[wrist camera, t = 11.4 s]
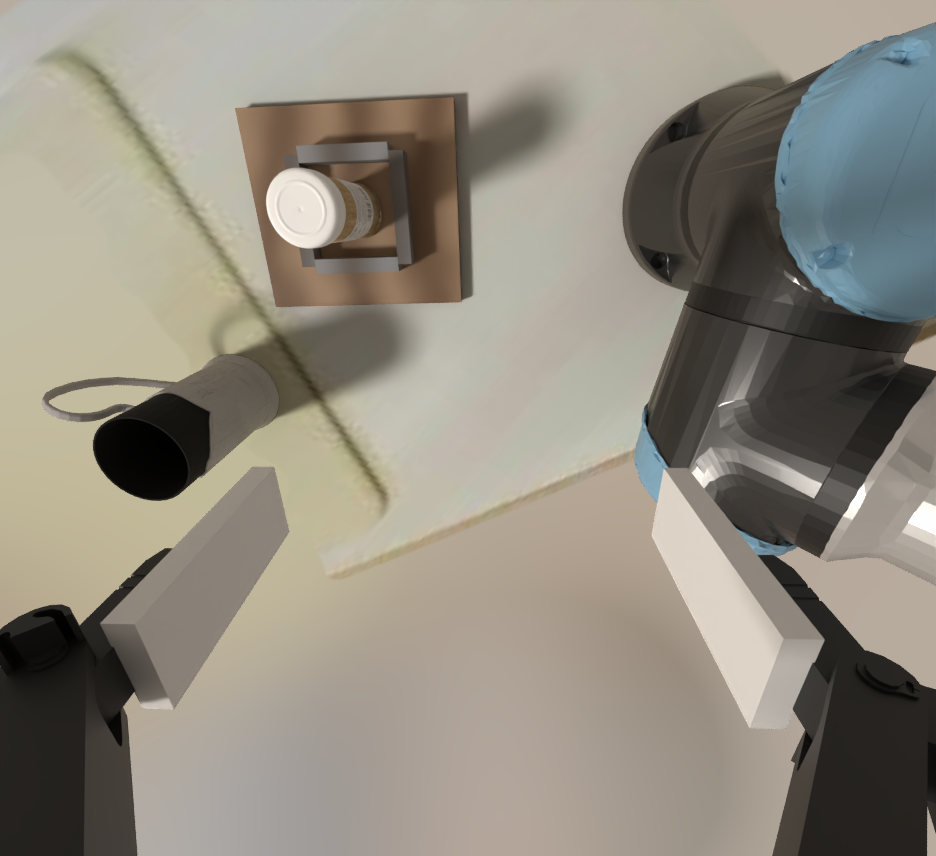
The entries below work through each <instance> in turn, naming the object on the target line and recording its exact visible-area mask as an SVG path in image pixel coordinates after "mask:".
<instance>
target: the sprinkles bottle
mask: <svg viewBox="0 0 936 856" xmlns="http://www.w3.org/2000/svg"><path fill="white" fill-rule="evenodd" d="M266 206H267V212H268V216H269V219H270V221H271V223H272V225H273V227H274V228H275V230H276V231H277V232H278V234H279V235H280V236H281V237H282V238H283V239H285V240H286V241H287V242H289V243H291V244H292V245H295V246H297V247H301V248H319V247H324V246H327V245H329V244H330V243H336V242H343V241H350V240H356V239H366V238H369V237H370V236H372V235H374V233H375V232H376V231H377V230H378V228H379V227H380V224H381V221H382V208H381V203H380V201H379V199H378V197H377V196H376V194H375V193H374V192H373V191H372V190H371V189H370V188H369V187H367V186H365V185H363V184H360V183H351V182H347V181H344V180H340V179H336V178H332V177H327V176H325V175H324V174H322V173H320V172H318V171H315V170H311V169H306V168H289V169H286V170H284V171H282V172H280V173H279V174H278V175H277V176H276V177H275V178H274V179H273V180H272V182H271V184H270V186H269V188H268V191H267V196H266Z"/></svg>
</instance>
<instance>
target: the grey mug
mask: <svg viewBox="0 0 936 856" xmlns="http://www.w3.org/2000/svg"><path fill="white" fill-rule="evenodd" d="M107 385H132V386H147V387H156V388H165V389H163V390H161V391H159V392H157V393H155V394H153V395H152V396H150V397H149V398H148V399H146V400H145V401H144V402H143V403H141V404H139V405H137V406H132V405H127V404H118V405H114V406H111V407H109V408H107V409H104V410H102V411H98V412H93V413H70V412H66V411H61V410H59V409H57V408H55V407H53V406H52V405H51V404H49V400H51V399H53V398H55V397H56V396H58V395H61V394H64V393H67V392H70V391H73V390H78V389H83V388H88V387H96V386H107ZM42 405H43V407H44V410H45V411H46V412H48V413H49V414H50V415H52V416H54V417H56V418H59V419H62V420H67V421H75V422H89V421H95V420H100V419H103V418H106V417H108V416H110V415H112V414H115V413H117V412H124V413H122V414H120V415H118V416H116V417H114V418H112V419H110V420H108V421H107V422H105V423H104V424H103V425H101V426H100V427H99V429H98V430H97V432H96V434H95V436H94V440H93V451H94V455H95V458H96V461H97V463H98V465H99V467H100V468H101V470H102V471H103V473H104V474H105V475H106V477H107V478H108V479H110V481H111V482H112V483H114V484H115V485H116V486H118V487H119V488H120V489H122V490H124V491H125V492H127V493H129V494H131V495H133V496H135V497H139V498H142V499H146V500H154V501H161V500H168V499H171V498H174V497H175V496H177V495H179V494H180V493H181V492H182V491H184V490H185V489H186V488H187V487H188V486H189V485H190V484H192V483H193V482H194V481H195V480H196V479H197V478H202V477H203V476H204V475H205V474H206V473H207V472H208V471H209V470H211V469H212V468H213V467H214V466H215V465H216V464H217V463H218V462H220V460H222V459H223V458H224V457H225V456H226V455H227V454H229V453H230V452H231V451H232V450H233V449H234V448H235V447H236V446H238V445H239V444H240V443H241V442H242V441H243V440H244V439H246V438H247V437H248V436H249V435H250V434H251V433H252V432H253V431H255V430H257V429H260V428H263V427H264V426H266V425H268V424H269V423H270V422H271V421H272V420H273V419H274V417H275V416H276V414H277V412H278V408H279V394H278V390H277V387H276V385H275V383H274V381H273V379H272V378H271V376H270V375H269V374H268V372H267V371H266V370H265V369H264V368H263V367H261V366H260V365H259V364H257V363H256V362H254V361H252V360H250V359H248V358H245V357H243V356H238V355H221V356H218V357H215V358H213V359H212V360H210V361H209V362H208V363H207V364H206V365H205V366H204V367H203V369H202V370H200V371H198V372H196V373H194V374H192V375H190V376H188V377H186V378H185V379H183V380H181V381H179V382H167V381H157V380H148V379H136V378H122V377H113V378H98V379H88V380H83V381H78V382H72V383H69V384H66V385H63V386H60V387H56V388H54V389H52V390H50V391H49V392H47V393H46V394H45V396H44V397H43V399H42Z"/></svg>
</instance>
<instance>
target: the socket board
mask: <svg viewBox="0 0 936 856" xmlns="http://www.w3.org/2000/svg"><path fill="white" fill-rule="evenodd" d="M235 110H236V115H237V120H238V124H239V129H240V134H241V139H242V144H243V149H244V153H245V158H246V163H247V168H248V173H249V178H250V182H251V187H252V192H253V197H254V202H255V207H256V211H257V216H258V221H259V226H260V231H261V236H262V240H263V245H264V250H265V255H266V260H267V265H268V269H269V274H270V279H271V284H272V289H273V294H274V298H275V303H276V307H292V306H331V305H370V304H409V303H448V302H461V301H462V295H461V268H460V241H459V214H458V187H457V160H456V133H455V106H454V98H453V97H446V98H427V99H407V100H387V101H367V102H348V103H328V104H308V105H288V106H268V107H249V108H235ZM289 168H306V169H311V170H315V171H318V172H320V173H322V174H324V175H325V176H327V177H332V178H336V179H340V180H344V181H347V182H351V183H360V184H363V185H365V186H367V187H369V188H370V189H371V190H372V191H373V192H374V193H375V194H376V196H377V197H378V199H379V201H380V203H381V208H382V221H381V224H380V227H379V228H378V230H377V231H376V232H375V233H374V235H372V236H370V237H369V238H366V239H356V240H350V241H343V242H336V243H330V244H329V245H327V246H324V247H319V248H301V247H297V246H295V245H292V244H291V243H289V242H287V241H286V240H285V239H283V238H282V237H281V236H280V235H279V234H278V232H277V231H276V230H275V228H274V227H273V225H272V223H271V221H270V219H269V216H268V212H267V206H266V196H267V191H268V188H269V186H270V184H271V182H272V180H273V179H274V178H275V177H276V176H277V175H278V174H279V173H280V172H282V171H284V170H286V169H289Z"/></svg>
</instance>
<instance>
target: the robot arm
mask: <svg viewBox="0 0 936 856" xmlns="http://www.w3.org/2000/svg"><path fill="white" fill-rule="evenodd" d="M623 226H624V232H625V237H626V240H627V243H628V246H629V248H630V250H631V252H632V254H633V256H634V258H635V259H636V261H637V262H638V263H639V265H640V266H641V267H642V268H643V269H644V270H645V271H646V272H647V273H648V274H649V275H651V276H652V277H653V278H655V279H656V280H658V281H660V282H662V283H664V284H666V285H669V286H672V287H675V288H677V289H681V290H684V291H689V293H688V296H687V299H686V301H685V303H684V306H683V309H682V312H681V314H680V317H679V320H678V323H677V325H676V328H675V331H674V334H673V337H672V339H671V342H670V345H669V348H668V350H667V353H666V356H665V359H664V361H663V364H662V367H661V370H660V372H659V375H658V378H657V381H656V383H655V386H654V389H653V392H652V394H651V397H650V400H649V402H648V404H647V405H646V406H645V407H644V410H643V413H642V427H641V430H640V434H639V437H638V441H637V444H636V448H635V453H634V462H635V466H636V468H637V470H638V474H639V478H640V480H641V482H642V484H643V485H644V487H645V489H646V490H647V491H648V493H649V494H650V495H651V497H652V498H653V499H654V500H655V501H656V502H657V508H656V514H655V519H654V525H653V530H652V535H651V536H652V538H653V540H654V542H655V544H656V546H657V548H658V549H659V552H660V553H661V555H662V557H663V559H664V561H665V563H666V565H667V567H668V569H669V571H670V573H671V575H672V577H673V579H674V581H675V583H676V585H677V587H678V589H679V591H680V592H681V595H682V596H683V598H684V600H685V602H686V604H687V606H688V608H689V610H690V612H691V614H692V616H693V618H694V620H695V622H696V624H697V626H698V628H699V629H700V632H701V634H702V636H703V638H704V640H705V642H706V643H707V645H708V647H709V649H710V651H711V653H712V655H713V657H714V659H715V661H716V663H717V665H718V667H719V669H720V671H721V673H722V675H723V677H724V679H725V680H726V683H727V684H728V686H729V688H730V690H731V692H732V694H733V696H734V698H735V700H736V702H737V704H738V706H739V708H740V710H741V712H742V714H743V716H744V718H745V720H746V722H747V724H748V726H749V727H750V728H766V729H767V728H768V729H769V728H770V729H786V727H787V725H788V722H789V720H790V718H791V716H792V714H793V711H794V712H795V714H796V715H797V717H798V719H799V720H800V722H801V724H802V725H803V727H804V728H805V731H804V734H803V736H802V738H801V740H800V742H799V744H798V746H797V749H796V751H795V753H794V755H793V757H792V760H791V761H793V762H794V763H795V765H794V770H793V774H792V778H791V782H790V786H789V790H788V794H787V798H786V803H785V806H784V810H783V814H782V818H781V822H780V827H779V831H778V835H777V839H776V843H775V847H774V851H773V855H772V856H927V806H928V810H929V813H930V816H931V819H932V823H933V825H934V829H935V832H936V689H932V688H929V687H925V686H922V685H920V684H919V682H918V681H917V680H916V679H915V677H913V676H912V675H911V674H910V673H909V672H907V671H906V670H905V669H904V668H902V667H901V666H900V665H898V664H896V663H894V662H893V661H891V660H889V659H887V658H886V657H884V656H881V655H878V654H875V653H872V652H869V651H865V650H864V649H863V648H862V647H861V646H860V644H858V642H857V641H856V640H855V639H854V637H853V636H852V635H851V634H850V633H849V632H848V631H847V629H846V628H845V627H844V626H843V625H842V624H841V623H840V621H839V620H838V619H837V618H836V617H835V616H834V614H833V613H832V612H831V611H830V610H829V609H828V608H827V606H825V604H824V603H823V602H822V601H819V598H818V597H817V595H816V594H815V593H814V592H813V590H812V589H811V588H808V586H807V584H806V582H805V581H804V580H803V579H802V578H801V577H800V576H799V574H798V573H797V572H796V571H795V570H794V569H793V568H792V567H790V566H789V565H787V564H786V563H785V562H783V561H781V560H780V559H779V558H777V557H776V556H780V555H783V554H785V553H787V552H788V551H791V550H793V549H795V548H796V547H800V548H802V549H804V550H805V551H808V552H809V553H811V554H813V555H815V556H817V557H819V558H821V559H823V560H824V561H826V562H828V561H837V560H846V559H855V558H863V557H869V558H881V559H883V560H885V561H887V562H889V563H891V564H893V565H895V566H897V567H899V568H901V569H903V570H905V571H907V572H909V573H911V574H913V575H915V576H917V577H919V578H921V579H923V580H925V581H927V582H929V583H931V584H933V585H936V371H934V370H931V369H926V368H922V367H919V366H915V365H910V364H907V363H905V362H904V358H905V356H906V353H907V352H908V351H909V348H910V347H911V345H912V344H913V342H914V340H915V339H916V337H917V335H918V334H919V332H920V330H921V328H922V327H923V325H924V323H925V322H926V320H927V319H930V318H933V317H936V22H935V23H932V24H929V25H926V26H923V27H921V28H918V29H915V30H912V31H909V32H906V33H903V34H901V35H895V36H889V37H885V38H883V39H882V40H881V41H875V40H874V41H872V42H870V43H868V44H865V45H863V46H860V47H858V48H857V49H855V50H853V51H851V52H849V53H848V54H847V55H845V56H844V57H842V58H841V59H840V60H837V61H835V62H834V63H833V64H830V65H828V66H826V67H824V68H822V69H820V70H818V71H816V72H813V73H811V74H809V75H807V76H805V77H803V78H801V79H799V80H797V81H795V82H792V83H790V84H788V85H786V86H784V87H782V88H780V89H778V90H773V89H769V88H764V87H758V86H740V87H733V88H727V89H723V90H719V91H716V92H714V93H711V94H708V95H706V96H704V97H702V98H700V99H698V100H696V101H694V102H693V103H691V104H689V105H687V106H686V107H684V108H683V109H681V110H679V111H678V112H677V113H675V114H674V115H672V116H671V117H670V118H669V119H668V120H666V121H665V122H664V123H663V124H662V125H661V126H660V127H659V128H658V129H657V130H656V131H655V132H654V134H653V135H652V136H651V137H650V138H649V140H648V141H647V143H646V144H645V145H644V147H643V148H642V150H641V152H640V153H639V155H638V157H637V159H636V161H635V163H634V165H633V167H632V170H631V172H630V175H629V178H628V181H627V184H626V188H625V193H624V199H623ZM288 533H289V528H288V524H287V520H286V515H285V511H284V507H283V503H282V499H281V494H280V490H279V485H278V481H277V477H276V473H275V468H274V467H252V468H251V469H250V470H249V471H248V472H247V473H246V474H245V475H244V476H243V477H242V478H241V479H240V480H239V481H238V482H237V483H236V484H235V485H234V486H233V487H232V488H231V489H230V490H229V491H228V492H227V493H226V494H225V495H224V497H223V498H222V499H221V500H220V501H219V502H218V503H217V504H216V505H215V506H214V507H213V508H212V509H211V510H210V511H209V512H208V513H207V514H206V515H205V516H204V517H203V518H202V519H201V520H200V521H199V522H198V523H197V524H196V526H194V527H193V528H192V529H191V530H190V531H189V532H188V534H187V535H186V536H185V537H184V538H183V539H182V540H181V541H180V542H179V543H178V544H177V545H176V546H175V547H174V548H171V549H170V548H165V549H163V550H162V551H160V552H159V553H157V554H156V555H154V556H152V557H151V558H149V559H148V560H146V561H145V562H144V563H143V564H142V565H141V566H140V567H139V568H138V569H137V570H136V571H135V572H134V573H133V574H132V575H131V578H128V579H126V581H125V582H123V583H122V584H121V586H119V589H118V590H115V591H114V592H113V593H112V594H111V595H110V596H109V597H108V598H107V599H106V600H105V601H104V602H103V603H102V604H101V605H100V606H99V607H98V608H97V609H96V610H95V611H94V612H93V613H92V614H91V615H90V616H89V617H88V618H87V619H86V620H85V621H84V622H83V623H82V624H81V625H80V626H79V624H78V622H77V620H76V619H75V617H74V615H73V613H72V611H71V609H70V608H69V607H67V606H64V605H49V606H46V607H42V608H38V609H35V610H32V611H30V612H28V613H26V614H24V615H21V616H19V617H17V618H16V619H15V620H13V621H11V622H10V623H8V624H7V625H5V626H4V627H2V629H0V856H137V844H136V830H135V818H134V817H135V816H134V802H133V789H132V775H131V761H130V747H129V734H128V720H127V715H126V713H125V711H124V708H123V706H124V705H125V703H126V702H127V701H128V699H129V698H130V697H131V695H132V694H133V693H134V692H135V694H136V696H137V698H138V700H139V702H140V704H141V706H142V708H149V709H174V708H175V707H176V705H177V704H178V702H179V701H180V699H181V698H182V696H183V695H184V693H185V692H186V690H187V689H188V687H189V685H190V684H191V682H192V681H193V679H194V678H195V676H196V675H197V673H198V672H199V670H200V668H201V667H202V665H203V664H204V662H205V661H206V659H207V658H208V656H209V655H210V653H211V652H212V650H213V649H214V647H215V645H216V644H217V642H218V641H219V639H220V638H221V636H222V635H223V633H224V632H225V630H226V628H227V627H228V625H229V624H230V622H231V621H232V619H233V618H234V616H235V615H236V613H237V612H238V610H239V609H240V607H241V605H242V604H243V602H244V601H245V599H246V598H247V596H248V595H249V593H250V591H251V590H252V589H253V587H254V585H255V584H256V582H257V581H258V579H259V578H260V576H261V575H262V573H263V572H264V570H265V568H266V567H267V565H268V564H269V562H270V561H271V559H272V558H273V556H274V555H275V553H276V552H277V550H278V549H279V547H280V545H281V544H282V542H283V541H284V539H285V538H286V536H287V534H288Z"/></svg>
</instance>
